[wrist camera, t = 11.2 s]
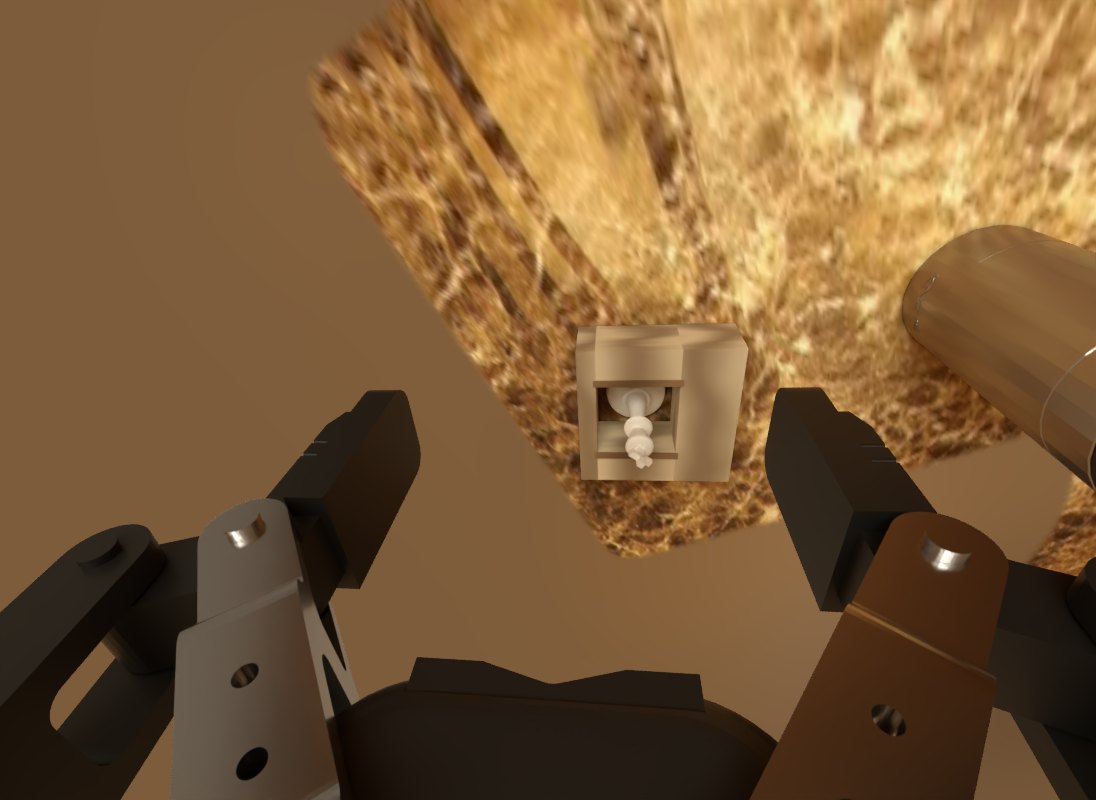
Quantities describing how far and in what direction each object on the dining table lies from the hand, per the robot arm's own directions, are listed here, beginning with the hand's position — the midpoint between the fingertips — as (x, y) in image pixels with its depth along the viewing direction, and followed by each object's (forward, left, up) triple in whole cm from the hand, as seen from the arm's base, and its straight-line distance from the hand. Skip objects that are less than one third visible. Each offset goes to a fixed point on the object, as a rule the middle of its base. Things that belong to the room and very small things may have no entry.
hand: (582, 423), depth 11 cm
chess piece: (-3, +16, -28) cm, 33 cm away
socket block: (-4, +16, -28) cm, 33 cm away
